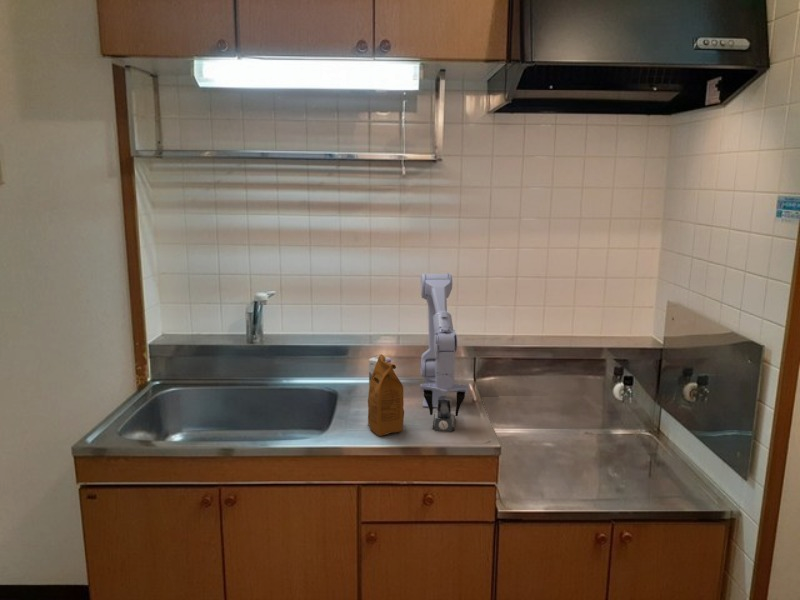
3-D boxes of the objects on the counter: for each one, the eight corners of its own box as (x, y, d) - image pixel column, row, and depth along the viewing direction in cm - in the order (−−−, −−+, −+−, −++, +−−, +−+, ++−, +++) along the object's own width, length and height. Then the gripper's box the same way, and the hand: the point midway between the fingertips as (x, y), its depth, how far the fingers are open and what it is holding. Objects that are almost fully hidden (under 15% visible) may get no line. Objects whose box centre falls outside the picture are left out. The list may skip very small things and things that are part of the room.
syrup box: (391, 397, 203) (391, 357, 200) (382, 403, 198) (382, 361, 195) (378, 394, 206) (378, 354, 203) (368, 399, 201) (368, 359, 198)
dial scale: (434, 417, 187) (434, 406, 186) (455, 418, 186) (455, 407, 185) (432, 431, 176) (432, 420, 176) (454, 432, 176) (454, 421, 175)
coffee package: (394, 418, 186) (394, 351, 181) (407, 434, 174) (407, 363, 170) (364, 421, 183) (363, 354, 179) (374, 438, 171) (374, 366, 167)
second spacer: (436, 418, 177) (436, 399, 177) (438, 416, 181) (439, 398, 181) (449, 419, 176) (450, 400, 177) (451, 417, 180) (451, 399, 180)
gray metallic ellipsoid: (438, 412, 186) (438, 395, 185) (451, 412, 186) (451, 396, 185) (437, 417, 182) (438, 400, 181) (450, 417, 182) (451, 401, 181)
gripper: (419, 375, 173) (419, 418, 176) (469, 377, 171) (467, 420, 174) (421, 367, 180) (421, 409, 183) (469, 369, 178) (468, 411, 181)
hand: (444, 414), depth 179 cm, fingers open, 7 cm apart
